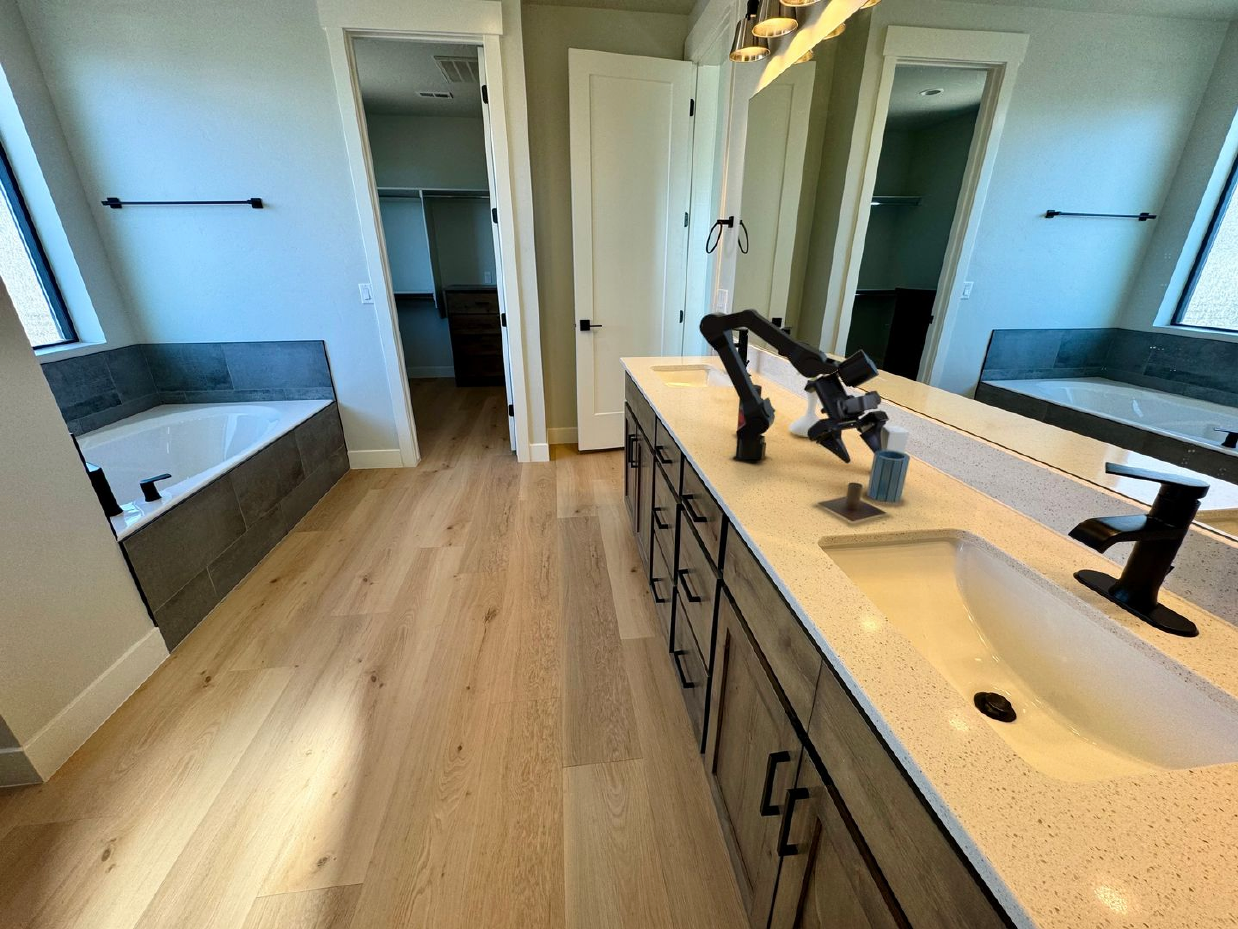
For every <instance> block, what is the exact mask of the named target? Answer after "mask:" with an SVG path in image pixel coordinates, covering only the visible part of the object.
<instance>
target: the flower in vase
mask: <svg viewBox="0 0 1238 929" xmlns="http://www.w3.org/2000/svg"><path fill="white" fill-rule="evenodd" d="M800 375H801V374H800V373H799V372H798V371H797V372H796V376H800ZM817 378H818V376H817V377H815V378H809V380H810V381H814V380H816V379H817ZM806 395H807V408H806V412H805V413H804V414H803V415H802V416H800V417H799V418H797V419H796V420H794V421H793V422H791V423H789V426H788V430H789V432H790V433H792V434H794V435H796V436H799V437H804V438H809V437H808V435H807V433H808V429H809V428H810V427H811V426H813V425H814V424H815V423H816V422H817V421H819V420H820V419H821V418H819V416H818V415H817V413H816V409H817V408H816V407H817V403H818V400H819V398H818V396H817V394H816V392H815V391H814V392H813V393H808V392H806Z"/></svg>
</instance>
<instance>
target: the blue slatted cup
mask: <svg viewBox="0 0 1238 929" xmlns="http://www.w3.org/2000/svg"><path fill="white" fill-rule="evenodd" d="M910 460H911V456H910V455H908V454H907V453H906V452H905V453H902V452H899V451H893V450H891V451H890V450H878V451H875V453H873V457H872V464H871V469H870V473H869V480H868V484H867V489H866V490H867V491H866V495H867V496H868V497H869V498H871V499H872V500H874V501H878V502H882V503H899V502H901V500H902V498H903V493H904V489H905V484H906V479H907V474H908V470H909V465H910Z"/></svg>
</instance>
